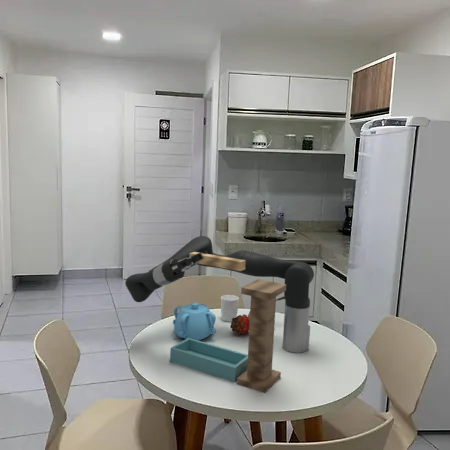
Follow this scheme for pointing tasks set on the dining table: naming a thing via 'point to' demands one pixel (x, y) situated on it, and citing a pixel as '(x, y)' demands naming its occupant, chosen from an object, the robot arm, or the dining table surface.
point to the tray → (209, 359)
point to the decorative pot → (194, 321)
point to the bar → (221, 261)
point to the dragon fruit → (240, 324)
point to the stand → (261, 335)
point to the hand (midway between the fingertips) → (204, 254)
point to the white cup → (229, 307)
